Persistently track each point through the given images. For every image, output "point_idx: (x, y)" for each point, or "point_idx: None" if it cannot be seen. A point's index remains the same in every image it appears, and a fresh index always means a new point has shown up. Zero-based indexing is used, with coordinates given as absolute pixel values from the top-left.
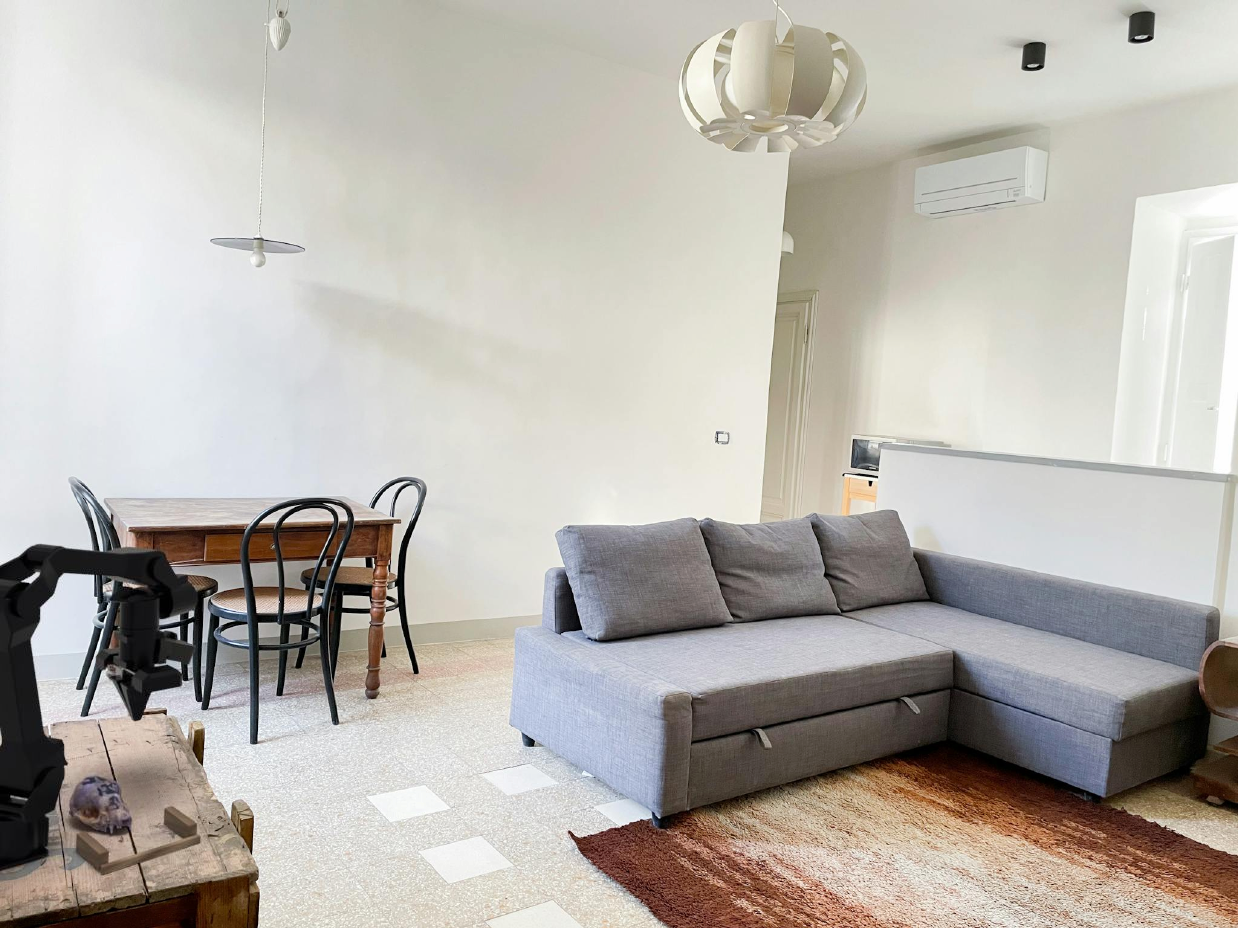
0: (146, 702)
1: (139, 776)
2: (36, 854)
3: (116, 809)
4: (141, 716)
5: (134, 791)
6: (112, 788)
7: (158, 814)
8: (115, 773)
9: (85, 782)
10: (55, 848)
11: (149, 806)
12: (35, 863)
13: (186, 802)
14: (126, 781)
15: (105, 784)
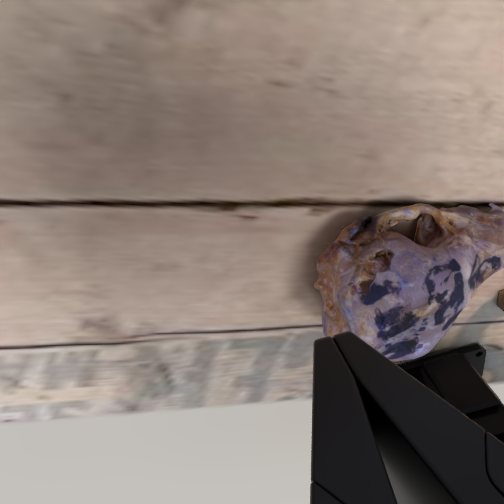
0: (473, 427)
1: (96, 124)
2: (477, 363)
3: (501, 262)
4: (365, 345)
5: (238, 160)
6: (449, 289)
7: (456, 121)
8: (33, 197)
9: (389, 357)
10: (457, 333)
11: (384, 136)
12: (489, 357)
13: (435, 11)
14: (132, 172)
15: (437, 313)
